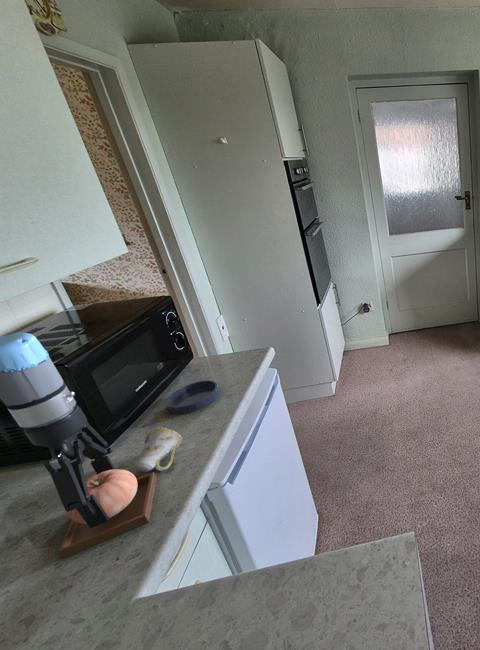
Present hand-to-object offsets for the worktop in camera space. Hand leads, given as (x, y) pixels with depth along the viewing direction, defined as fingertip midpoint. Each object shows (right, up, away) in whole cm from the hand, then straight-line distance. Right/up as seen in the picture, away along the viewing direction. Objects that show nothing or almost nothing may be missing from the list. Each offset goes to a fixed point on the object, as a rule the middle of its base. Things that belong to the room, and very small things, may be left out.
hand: (106, 501), depth 77 cm
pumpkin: (0, -2, +1) cm, 2 cm away
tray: (0, -3, +2) cm, 4 cm away
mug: (0, +2, +15) cm, 15 cm away
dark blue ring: (-7, +12, +37) cm, 39 cm away
